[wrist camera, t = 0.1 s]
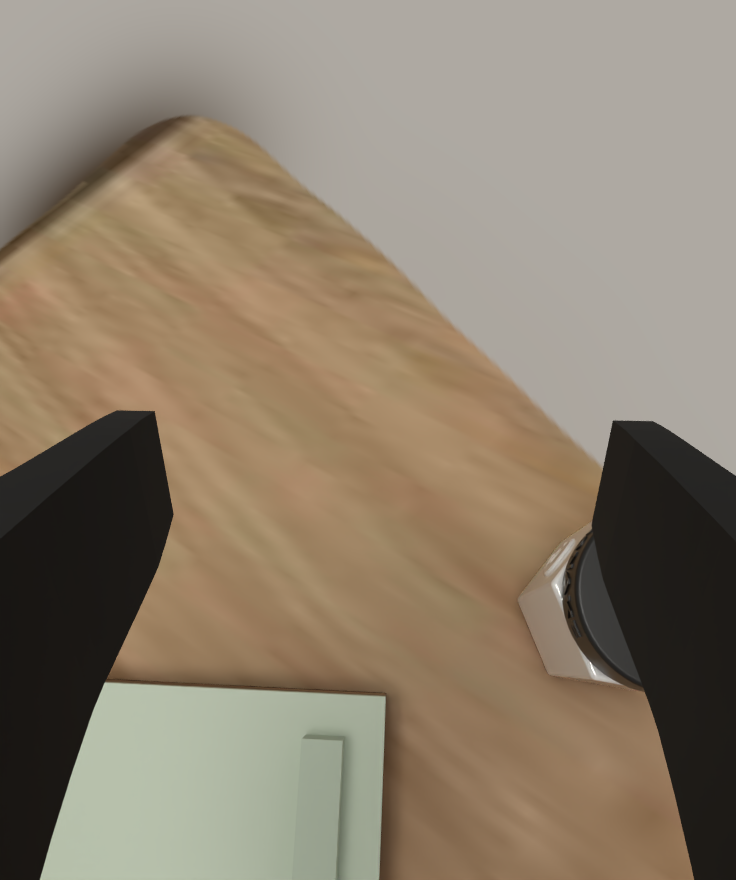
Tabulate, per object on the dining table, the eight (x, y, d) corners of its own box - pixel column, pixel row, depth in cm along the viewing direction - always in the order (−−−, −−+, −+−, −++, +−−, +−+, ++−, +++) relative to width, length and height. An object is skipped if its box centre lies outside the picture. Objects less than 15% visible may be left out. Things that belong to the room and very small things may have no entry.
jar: (579, 511, 43) (648, 458, 32) (693, 598, 42) (809, 576, 30) (490, 626, 41) (529, 614, 30) (606, 723, 40) (694, 749, 28)
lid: (376, 960, 34) (375, 988, 31) (9, 936, 35) (-25, 962, 32) (385, 695, 37) (385, 698, 35) (53, 679, 38) (26, 680, 35)
